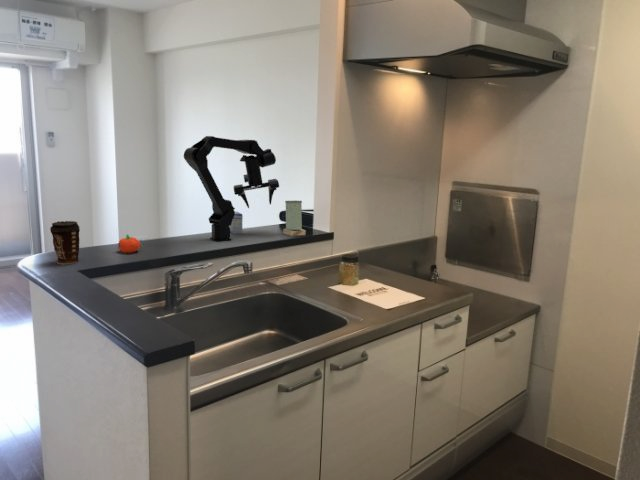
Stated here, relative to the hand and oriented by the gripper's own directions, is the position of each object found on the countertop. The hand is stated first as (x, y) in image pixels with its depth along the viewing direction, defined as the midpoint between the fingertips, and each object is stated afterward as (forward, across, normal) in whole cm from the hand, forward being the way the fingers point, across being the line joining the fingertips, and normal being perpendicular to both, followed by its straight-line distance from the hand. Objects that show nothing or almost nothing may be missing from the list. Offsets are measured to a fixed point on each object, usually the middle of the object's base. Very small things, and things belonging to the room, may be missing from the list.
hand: (259, 206), depth 221 cm
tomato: (0, +49, +31) cm, 58 cm away
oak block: (+15, -13, +2) cm, 20 cm away
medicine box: (+11, +12, -4) cm, 17 cm away
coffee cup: (-4, +66, +44) cm, 80 cm away
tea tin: (+12, -13, +2) cm, 18 cm away
